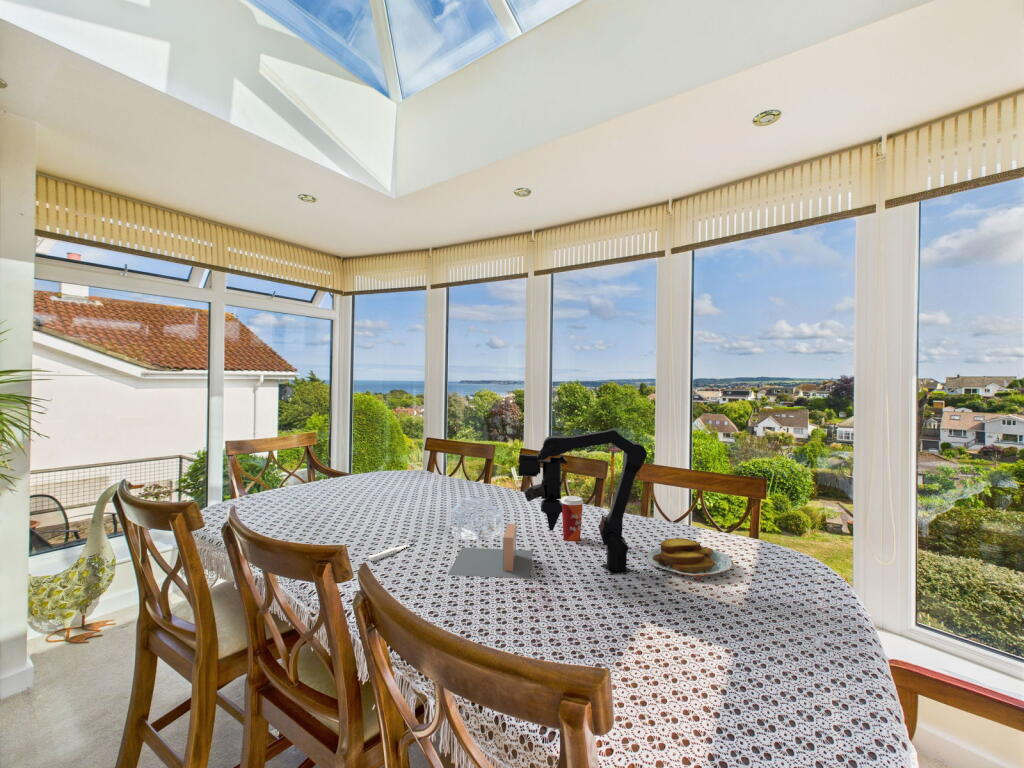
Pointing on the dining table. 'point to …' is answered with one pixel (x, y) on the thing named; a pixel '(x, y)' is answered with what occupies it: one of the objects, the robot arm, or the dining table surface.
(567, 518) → the coffee cup
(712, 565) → the food on plate
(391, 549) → the knife
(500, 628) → the dining table surface
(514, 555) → the tile
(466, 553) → the mat
